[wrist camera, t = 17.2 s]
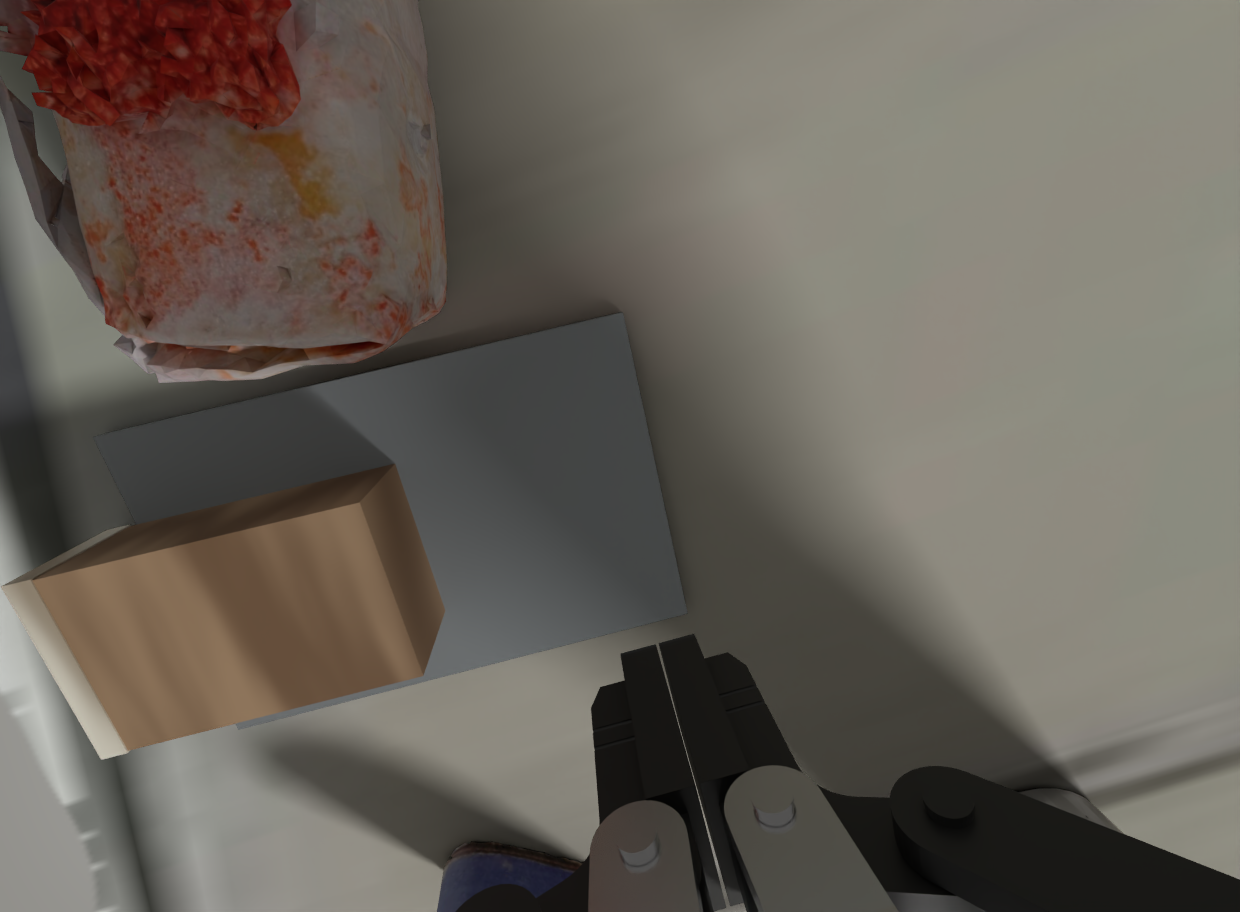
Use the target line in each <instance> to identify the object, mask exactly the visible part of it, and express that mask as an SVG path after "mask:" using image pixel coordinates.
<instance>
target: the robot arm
mask: <svg viewBox="0 0 1240 912" xmlns="http://www.w3.org/2000/svg"><path fill="white" fill-rule="evenodd" d="M659 646H660V650H661V654H662V658H663V662H664V666H665V670H666V674H667V678H668V682H669V686H670V690H671V694H672V698H673V702H674V706H675V710H676V714H677V717H678V721H679V725H680V729H681V732H682V736H683V740H684V743H685V747H686V750H687V754H688V758H689V761H690V765H691V768H692V772H693V775H694V779H695V782H696V786H697V789H698V793H699V796H700V800H701V804H702V807H703V811H704V814H705V818H706V821H707V825H708V828H709V832H710V835H711V839H712V843H713V846H714V850H715V853H716V857H717V860H718V864H719V867H720V871H721V874H722V878H723V882H724V885H725V889H726V892H727V896H728V899H729V903H730V906H733V905H737V904H740V903H744V904H745V908H746V911H747V912H1240V880H1239V879H1237V878H1234V877H1232V876H1229V875H1226V874H1224V873H1221V872H1219V871H1216V870H1214V869H1211V868H1209V867H1206V866H1204V865H1201V864H1199V863H1196V862H1193V861H1191V860H1188V859H1186V858H1183V857H1181V856H1178V855H1176V854H1173V853H1171V852H1168V851H1166V850H1163V849H1160V848H1158V847H1155V846H1153V845H1150V844H1148V843H1145V842H1143V841H1140V840H1138V839H1135V838H1133V837H1130V836H1127V835H1125V834H1124V833H1123V832H1122V831H1120V830H1119V829H1118V828H1117V827H1116V826H1115V825H1114V824H1113V823H1112V822H1111V821H1110V820H1109V819H1108V818H1107V817H1106V816H1105V815H1104V814H1103V813H1101V812H1100V811H1099V810H1098V809H1097V808H1096V807H1095V806H1094V805H1093V804H1092V803H1091V802H1089V801H1088V800H1087V799H1086V798H1084V797H1082V796H1080V795H1078V794H1076V793H1074V792H1071V791H1066V790H1061V789H1056V788H1053V789H1033V790H1028V791H1023V792H1016V791H1013V790H1011V789H1008V788H1006V787H1003V786H1000V785H998V784H995V783H993V782H990V781H988V780H985V779H983V778H980V777H978V776H975V775H973V774H970V773H967V772H964V771H961V770H958V769H954V768H949V767H941V766H928V767H922V768H918V769H915V770H912V771H910V772H908V773H906V774H904V775H903V776H902V777H901V778H899V779H898V781H897V782H896V783H895V784H894V786H893V789H892V791H891V795H890V798H878V797H851V796H845V795H840V794H836V793H833V792H830V791H828V790H826V789H824V788H821V787H820V786H818V785H816V783H815V782H814V781H813V780H812V779H810V778H809V777H808V776H807V775H805V774H804V773H803V772H802V771H801V770H800V768H799V767H798V765H797V764H796V762H795V760H794V758H793V756H792V754H791V752H790V750H789V748H788V746H787V744H786V742H785V740H784V738H783V736H782V734H781V732H780V730H779V729H778V727H777V725H776V723H775V721H774V719H773V717H772V715H771V713H770V711H769V709H768V707H767V705H766V704H765V702H764V699H763V697H762V695H761V693H760V691H759V690H758V688H757V687H756V684H755V682H754V680H753V678H752V676H751V674H750V672H749V670H748V668H747V666H746V665H745V664H743V663H742V662H740V661H739V660H738V659H736V658H735V657H733V656H732V655H731V654H729V653H728V652H727V653H724V654H720V655H716V656H713V657H709V658H705V659H704V657H703V654H702V652H701V649H700V647H699V644H698V642H697V639H696V637H695V635H694V634H691V635H688V636H684V637H680V638H676V639H673V640H669V641H665V642H662V643H659ZM621 660H622V666H623V672H624V678H625V681H621V682H618V683H614V684H610V685H607V686H603V687H600V689H599V691H598V694H597V696H596V698H595V700H594V703H593V705H592V707H591V713H592V726H593V732H594V733H593V739H594V748H595V751H594V752H595V765H596V778H597V791H598V804H599V817H600V826H599V827H598V829H597V830H596V832H595V835H594V837H593V839H592V843H591V847H590V854H589V856H588V857H587V859H586V860H585V861H584V863H583V864H582V865H581V866H580V867H579V868H578V869H577V870H576V871H575V872H574V873H573V874H572V875H570V876H569V877H568V878H566V879H565V880H563V881H562V882H560V883H559V884H557V885H556V886H554V887H553V888H551V889H549V890H548V891H546V892H545V893H543V894H542V895H540V896H538V897H537V898H535V896H534V895H533V894H532V893H531V892H530V891H529V890H527V889H526V888H524V887H522V886H519V885H515V884H499V885H495V886H491V887H489V888H486V889H484V890H482V891H480V892H478V893H476V894H475V895H473V896H472V897H471V898H469V899H468V900H467V901H465V902H464V903H463V904H462V905H461V906H460V907H459V908H458V909H457V910H456V911H455V912H714V911H717V910H720V909H724V908H726V905H725V901H724V897H723V893H722V889H721V885H720V881H719V877H718V873H717V869H716V865H715V861H714V857H713V854H712V850H711V846H710V842H709V838H708V834H707V830H706V826H705V822H704V818H703V814H702V810H701V806H700V802H699V798H698V794H697V790H696V786H695V783H694V779H693V776H692V772H691V768H690V765H689V761H688V758H687V754H686V751H685V747H684V743H683V740H682V736H681V733H680V729H679V725H678V722H677V718H676V715H675V711H674V708H673V704H672V700H671V697H670V693H669V690H668V686H667V683H666V679H665V675H664V672H663V668H662V665H661V661H660V658H659V654H658V650H657V647H656V644H655V645H651V646H647V647H644V648H640V649H636V650H633V651H629V652H625V653H621Z"/></svg>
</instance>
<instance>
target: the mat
mask: <svg viewBox="0 0 1240 912" xmlns="http://www.w3.org/2000/svg"><path fill="white" fill-rule="evenodd" d="M93 438H94V440H95V442H96V445H97V447H98V449H99V451H100V453H101V455H102V457H103V459H104V461H105V463H106V465H107V467H108V469H109V471H110V473H111V475H112V477H113V479H114V481H115V483H116V485H117V487H118V489H119V491H120V493H121V495H122V497H123V499H124V501H125V503H126V505H127V507H128V509H129V511H130V513H131V515H132V517H133V519H134V521H135V523H136V525H137V524H141V523H146V522H150V521H154V520H158V519H163V518H167V517H171V516H175V515H180V514H184V513H188V512H192V511H196V510H201V509H205V508H209V507H213V506H218V505H222V504H226V503H230V502H235V501H239V500H243V499H247V498H252V497H256V496H260V495H264V494H268V493H273V492H277V491H281V490H285V489H290V488H294V487H298V486H302V485H307V484H311V483H315V482H319V481H324V480H328V479H332V478H336V477H340V476H345V475H349V474H353V473H357V472H362V471H366V470H370V469H374V468H379V467H383V466H387V465H391V464H395V465H396V468H397V471H398V473H399V476H400V479H401V482H402V485H403V488H404V491H405V494H406V497H407V500H408V503H409V506H410V509H411V512H412V514H413V517H414V520H415V523H416V526H417V529H418V532H419V535H420V538H421V541H422V544H423V547H424V550H425V552H426V555H427V558H428V561H429V564H430V567H431V570H432V573H433V576H434V579H435V582H436V585H437V588H438V590H439V593H440V596H441V599H442V602H443V605H444V608H445V613H444V616H443V619H442V622H441V625H440V628H439V631H438V634H437V637H436V640H435V643H434V646H433V649H432V652H431V655H430V658H429V661H428V664H427V667H426V670H425V673H424V676H422V677H418V678H414V679H410V680H406V681H402V682H398V683H394V684H390V685H386V686H382V687H378V688H374V689H370V690H366V691H362V692H358V693H354V694H350V695H346V696H342V697H338V698H334V699H330V700H327V701H323V702H319V703H315V704H311V705H307V706H303V707H299V708H295V709H291V710H287V711H283V712H279V713H275V714H271V715H267V716H263V717H259V718H255V719H251V720H247V721H243V722H239V723H235V724H236V726H237V728H238V730H239V729H243V728H247V727H251V726H255V725H259V724H262V723H266V722H270V721H274V720H278V719H282V718H286V717H289V716H293V715H297V714H301V713H305V712H309V711H313V710H317V709H320V708H324V707H328V706H332V705H336V704H340V703H344V702H348V701H351V700H355V699H359V698H363V697H367V696H371V695H375V694H378V693H382V692H386V691H390V690H394V689H398V688H402V687H406V686H409V685H413V684H417V683H421V682H425V681H429V680H433V679H437V678H440V677H444V676H448V675H452V674H456V673H460V672H464V671H468V670H471V669H475V668H479V667H483V666H487V665H491V664H495V663H498V662H502V661H506V660H510V659H514V658H518V657H522V656H526V655H529V654H533V653H537V652H541V651H545V650H549V649H553V648H557V647H560V646H564V645H568V644H572V643H576V642H580V641H584V640H587V639H591V638H595V637H599V636H603V635H607V634H611V633H615V632H618V631H622V630H626V629H630V628H634V627H638V626H642V625H646V624H649V623H653V622H657V621H661V620H665V619H669V618H673V617H677V616H680V615H684V614H688V613H687V608H686V604H685V599H684V594H683V590H682V585H681V581H680V576H679V571H678V567H677V562H676V557H675V553H674V548H673V543H672V539H671V534H670V529H669V525H668V520H667V515H666V511H665V506H664V501H663V497H662V492H661V487H660V483H659V478H658V473H657V469H656V464H655V460H654V455H653V450H652V446H651V441H650V436H649V432H648V427H647V422H646V418H645V413H644V408H643V404H642V399H641V394H640V390H639V385H638V380H637V376H636V371H635V366H634V362H633V357H632V352H631V348H630V343H629V339H628V334H627V329H626V325H625V320H624V315H623V313H622V312H619V313H615V314H611V315H606V316H602V317H598V318H594V319H589V320H585V321H581V322H577V323H572V324H568V325H564V326H560V327H555V328H551V329H547V330H542V331H538V332H534V333H530V334H525V335H521V336H517V337H513V338H508V339H504V340H500V341H496V342H491V343H487V344H483V345H479V346H474V347H470V348H466V349H462V350H457V351H453V352H449V353H445V354H440V355H436V356H432V357H428V358H423V359H419V360H415V361H411V362H406V363H402V364H398V365H393V366H389V367H385V368H381V369H376V370H372V371H368V372H364V373H359V374H355V375H351V376H347V377H342V378H338V379H334V380H330V381H325V382H321V383H317V384H313V385H308V386H304V387H300V388H296V389H291V390H287V391H283V392H279V393H274V394H270V395H266V396H262V397H257V398H253V399H249V400H245V401H240V402H236V403H232V404H227V405H223V406H219V407H215V408H210V409H206V410H202V411H198V412H193V413H189V414H185V415H181V416H176V417H172V418H168V419H164V420H159V421H155V422H151V423H147V424H142V425H138V426H134V427H130V428H125V429H121V430H117V431H113V432H108V433H105V434H101V435H98V436H95V437H93Z"/></svg>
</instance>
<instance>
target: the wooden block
mask: <svg viewBox="0 0 1240 912" xmlns="http://www.w3.org/2000/svg"><path fill="white" fill-rule="evenodd" d="M1 588H2V590H3V591H4V593H5V595H6V596H7V598H8V600H9V602H10V603H11V605H12V607H13V609H14V610H15V612H16V614H17V615H18V617H19V619H20V621H21V622H22V624H23V626H24V627H25V629H26V631H27V633H28V634H29V636H30V638H31V640H32V641H33V643H34V645H35V646H36V648H37V650H38V652H39V653H40V655H41V657H42V658H43V660H44V662H45V664H46V665H47V667H48V669H49V670H50V672H51V674H52V676H53V677H54V679H55V681H56V683H57V684H58V686H59V688H60V689H61V691H62V693H63V695H64V696H65V698H66V700H67V701H68V703H69V705H70V707H71V708H72V710H73V712H74V714H75V715H76V717H77V719H78V720H79V722H80V724H81V726H82V727H83V729H84V731H85V732H86V734H87V736H88V738H89V739H90V741H91V743H92V744H93V746H94V748H95V750H96V751H97V753H98V755H99V757H100V758H101V760H102V759H106V758H110V757H114V756H118V755H122V754H126V753H128V752H129V751H130V750H133V749H137V748H140V747H144V746H148V745H152V744H156V743H160V742H164V741H168V740H172V739H176V738H180V737H184V736H188V735H192V734H196V733H200V732H204V731H208V730H212V729H216V728H220V727H224V726H228V725H232V724H235V723H239V722H243V721H247V720H251V719H255V718H259V717H263V716H267V715H271V714H275V713H279V712H283V711H287V710H291V709H295V708H299V707H303V706H307V705H311V704H315V703H319V702H323V701H327V700H330V699H334V698H338V697H342V696H346V695H350V694H354V693H358V692H362V691H366V690H370V689H374V688H378V687H382V686H386V685H390V684H394V683H398V682H402V681H406V680H410V679H414V678H418V677H422V676H424V673H425V670H426V667H427V664H428V661H429V658H430V655H431V652H432V649H433V646H434V643H435V640H436V637H437V634H438V631H439V628H440V625H441V622H442V619H443V616H444V613H445V608H444V605H443V602H442V599H441V596H440V593H439V590H438V588H437V585H436V582H435V579H434V576H433V573H432V570H431V567H430V564H429V561H428V558H427V555H426V552H425V550H424V547H423V544H422V541H421V538H420V535H419V532H418V529H417V526H416V523H415V520H414V517H413V514H412V512H411V509H410V506H409V503H408V500H407V497H406V494H405V491H404V488H403V485H402V482H401V479H400V476H399V473H398V471H397V468H396V465H395V464H391V465H387V466H383V467H379V468H374V469H370V470H366V471H362V472H357V473H353V474H349V475H345V476H340V477H336V478H332V479H328V480H324V481H319V482H315V483H311V484H307V485H302V486H298V487H294V488H290V489H285V490H281V491H277V492H273V493H268V494H264V495H260V496H256V497H252V498H247V499H243V500H239V501H235V502H230V503H226V504H222V505H218V506H213V507H209V508H205V509H201V510H196V511H192V512H188V513H184V514H180V515H175V516H171V517H167V518H163V519H158V520H154V521H150V522H146V523H141V524H137V525H133V526H131V525H125V526H121V527H117V528H113V529H108V530H106V531H104V532H102V533H100V534H98V535H96V536H94V537H93V538H91V539H89V540H87V541H85V542H83V543H81V544H80V545H78V546H76V547H74V548H72V549H70V550H68V551H66V552H65V553H63V554H61V555H59V556H57V557H55V558H53V559H52V560H50V561H48V562H46V563H44V564H42V565H40V566H39V567H37V568H35V569H33V570H31V571H29V572H27V573H25V574H24V575H22V576H20V577H18V578H16V579H14V580H12V581H11V582H9V583H7V584H5V585H3V586H1Z"/></svg>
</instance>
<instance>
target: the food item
mask: <svg viewBox="0 0 1240 912" xmlns="http://www.w3.org/2000/svg"><path fill="white" fill-rule="evenodd" d="M0 26H8V33H7V32H4V31H0V51H5V52H10V53H14V54H19V55H24V56H28V57H27V59H26V61H25V63H24V66H23V68H22V69H23V70H26V71H28V72H30V73H33V74H34V76H35V78H36V81H37V84H38V87H39V89H40V90H44V91H45V92H40V93H32V95H33V97H34V99H35V102H36V104H37V106H41V107H45V108H48V109H52V112H53V115H54V118H55V121H56V123H57V126H58V129H59V132H60V136H61V140H62V144H63V148H64V151H65V155H66V159H67V165H66V167H65V169H64V172H63V174H62V177H63V181H62V182H60V181H59V180H58V179H57V178H56V177H55V175H54V174H53V173H52V172H51V171H50V169H49V168H48V167H47V166H46V165H45V163H44V162H43V161H42V160H41V159H40V157H39V156H38V151H37V145H36V139H35V129H34V120H33V114H32V111H31V110H30V109H29V108H27V107H26V106H25V105H24V104H23V103H22V102H21V101H20V100H19V99H18V98H17V97H16V96H15V95H14V94H13V93H12V92H10V91H9V90H8V89H7V87H6V85H5V83H4V82H3V80H2V78H1V76H0V106H1V109H2V112H3V115H4V118H5V122H6V125H7V129H8V133H9V137H10V141H11V145H12V149H13V153H14V156H15V160H16V162H17V165H18V168H19V171H20V173H21V176H22V179H23V182H24V184H25V187H26V191H27V194H28V197H29V200H30V203H31V206H32V209H33V212H34V216H35V219H36V220H37V222H38V223H39V224H40V226H41V227H42V229H43V230H44V231H45V233H46V234H47V236H48V237H49V238H50V240H51V241H52V243H53V244H54V245H55V247H56V248H57V250H58V251H59V252H60V254H61V255H62V256H63V258H64V259H65V260H66V262H67V263H68V264H69V266H70V267H71V268H72V270H73V271H74V273H75V275H76V276H77V278H78V280H79V282H80V283H81V285H82V287H83V289H84V291H85V292H86V294H87V296H88V298H89V299H90V300H91V301H92V302H93V303H94V305H95V306H96V307H97V308H98V309H99V310H100V311H101V313H102V314H103V315H105V322H106V324H108V325H110V326H112V327H114V328H116V329H117V330H118V331H119V332H120V333H121V334H122V336H121V337H120V338H119V339H118V340H117V341H116V342H115V343H114V346H115V347H117V348H118V349H119V350H121V351H122V352H123V353H125V354H126V355H127V356H129V357H130V358H131V359H132V360H133V361H134V362H135V363H136V364H137V365H138V366H140V367H141V368H142V369H143V370H144V371H145V372H147V373H148V374H150V373H156V376H157V379H158V382H159V383H166V382H190V381H205V380H218V381H232V380H253V379H264V378H267V377H270V376H273V375H276V374H279V373H283V372H286V371H289V370H292V369H295V368H298V367H301V366H305V365H324V364H348V363H356V362H358V361H361V360H364V359H367V358H369V357H372V356H375V355H377V354H379V353H381V352H383V351H385V350H386V349H387V348H389V347H390V346H391V345H393V344H394V343H395V342H397V341H398V340H399V339H400V338H401V337H403V336H404V335H405V334H406V333H407V332H408V331H410V330H411V329H412V328H414V327H416V326H418V325H420V324H422V323H424V322H426V321H428V320H429V319H431V318H432V317H434V316H435V315H437V314H438V313H440V312H441V308H442V307H443V305H444V304H445V302H446V288H447V254H446V238H445V219H444V200H443V188H442V177H441V168H440V158H439V149H438V139H437V130H436V120H435V111H434V105H433V101H432V98H431V94H430V91H429V87H428V80H427V51H426V44H425V38H424V31H423V25H422V20H421V17H420V13H419V9H418V0H0ZM51 224H53V225H51Z"/></svg>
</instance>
